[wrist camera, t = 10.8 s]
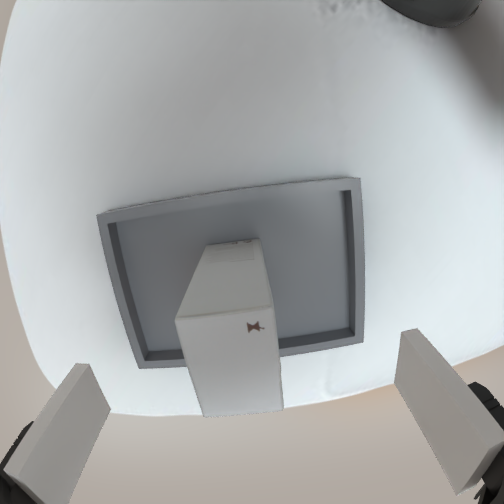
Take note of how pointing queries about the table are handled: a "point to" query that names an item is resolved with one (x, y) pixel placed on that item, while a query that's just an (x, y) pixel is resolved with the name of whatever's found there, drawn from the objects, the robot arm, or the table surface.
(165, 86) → the table surface
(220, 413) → the skincare box
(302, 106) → the table surface
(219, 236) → the tray
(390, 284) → the table surface
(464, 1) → the robot arm
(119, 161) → the table surface
